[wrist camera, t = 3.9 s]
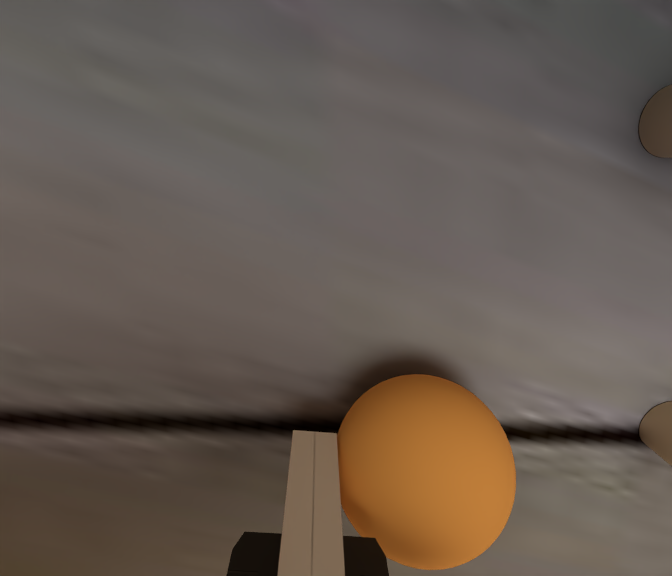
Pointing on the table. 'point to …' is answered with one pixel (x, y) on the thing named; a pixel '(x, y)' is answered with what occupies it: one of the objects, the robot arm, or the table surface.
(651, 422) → the cream pin
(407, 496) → the ball
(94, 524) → the table surface
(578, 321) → the table surface
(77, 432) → the table surface
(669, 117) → the beige tapered peg
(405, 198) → the table surface
